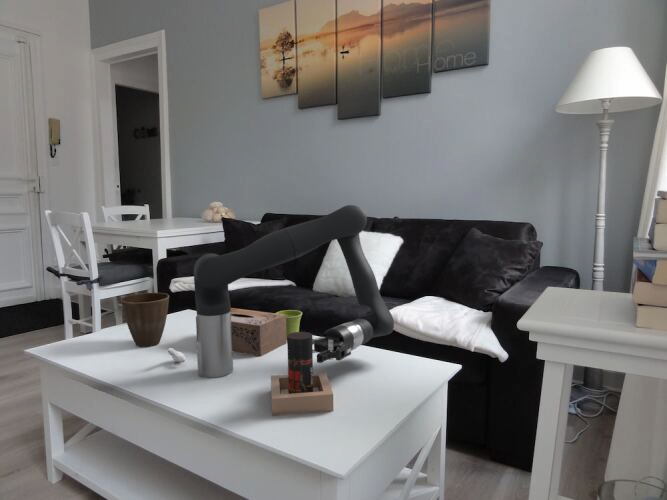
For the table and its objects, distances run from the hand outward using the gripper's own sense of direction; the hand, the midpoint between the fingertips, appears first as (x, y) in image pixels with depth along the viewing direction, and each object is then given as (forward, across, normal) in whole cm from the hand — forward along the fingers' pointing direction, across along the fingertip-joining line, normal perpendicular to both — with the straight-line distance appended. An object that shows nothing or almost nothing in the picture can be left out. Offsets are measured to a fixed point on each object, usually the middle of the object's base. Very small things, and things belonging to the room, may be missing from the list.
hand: (304, 355), depth 118 cm
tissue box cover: (-20, -45, +11) cm, 50 cm away
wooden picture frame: (+2, 0, +11) cm, 11 cm away
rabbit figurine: (+4, -46, +11) cm, 47 cm away
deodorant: (+1, 0, +10) cm, 10 cm away
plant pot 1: (-2, -71, +11) cm, 72 cm away
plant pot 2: (-34, -36, +11) cm, 51 cm away
